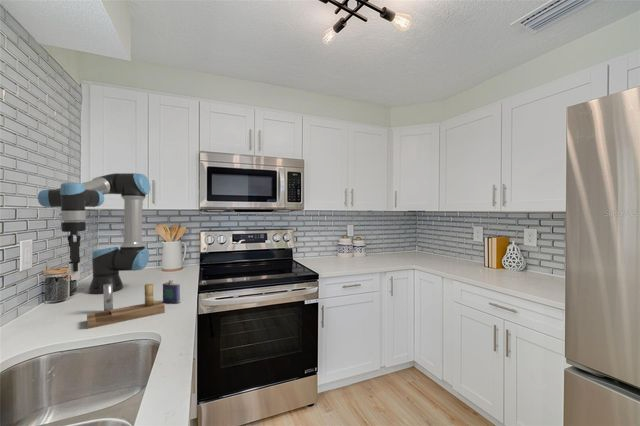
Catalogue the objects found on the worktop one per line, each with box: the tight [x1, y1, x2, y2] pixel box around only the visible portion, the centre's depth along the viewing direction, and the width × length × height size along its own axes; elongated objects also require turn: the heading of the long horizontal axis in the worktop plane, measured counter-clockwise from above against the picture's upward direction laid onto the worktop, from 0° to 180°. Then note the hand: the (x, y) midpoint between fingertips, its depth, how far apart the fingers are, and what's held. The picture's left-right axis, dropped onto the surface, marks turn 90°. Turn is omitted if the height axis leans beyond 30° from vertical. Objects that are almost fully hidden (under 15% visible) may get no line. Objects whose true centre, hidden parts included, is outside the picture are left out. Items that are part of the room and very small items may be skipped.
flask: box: [162, 280, 181, 305], centre depth 140 cm, size 9×3×11 cm, turn 74°
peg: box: [103, 284, 114, 311], centre depth 128 cm, size 3×3×12 cm
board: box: [86, 283, 166, 329], centre depth 122 cm, size 9×26×12 cm, turn 130°
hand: (75, 277), depth 120 cm, fingers open, 8 cm apart
